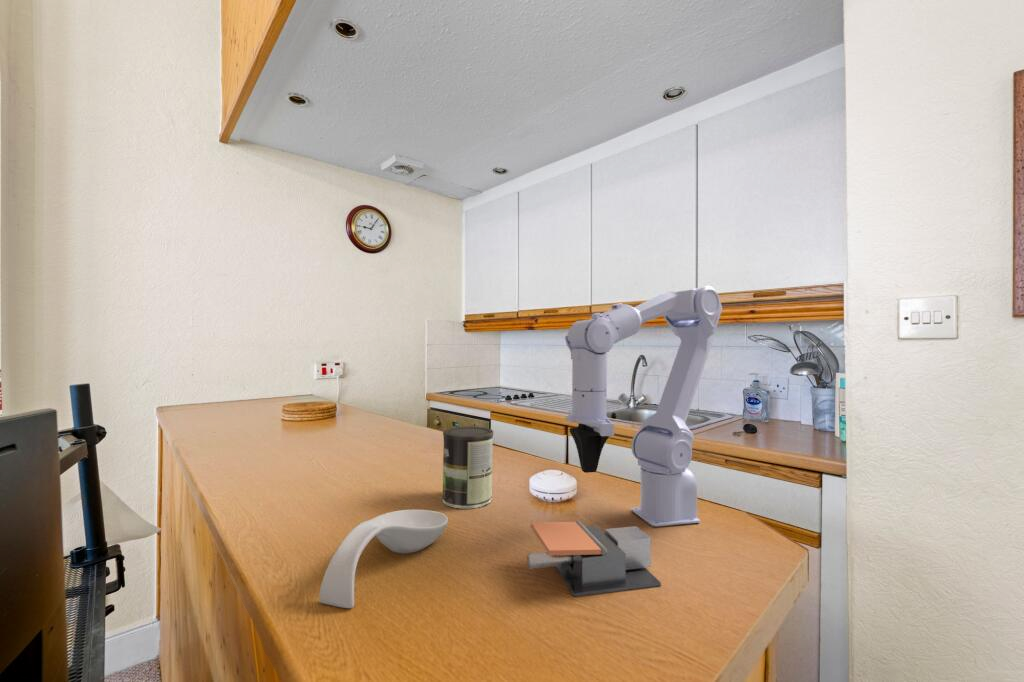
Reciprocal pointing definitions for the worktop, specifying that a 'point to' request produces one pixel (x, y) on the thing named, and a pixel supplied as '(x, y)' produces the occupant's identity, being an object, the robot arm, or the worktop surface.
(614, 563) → the hitch block
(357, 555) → the spoon rest
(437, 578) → the worktop surface
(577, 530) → the plate
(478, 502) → the coffee can
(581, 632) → the worktop surface
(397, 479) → the worktop surface
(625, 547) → the hitch pin
